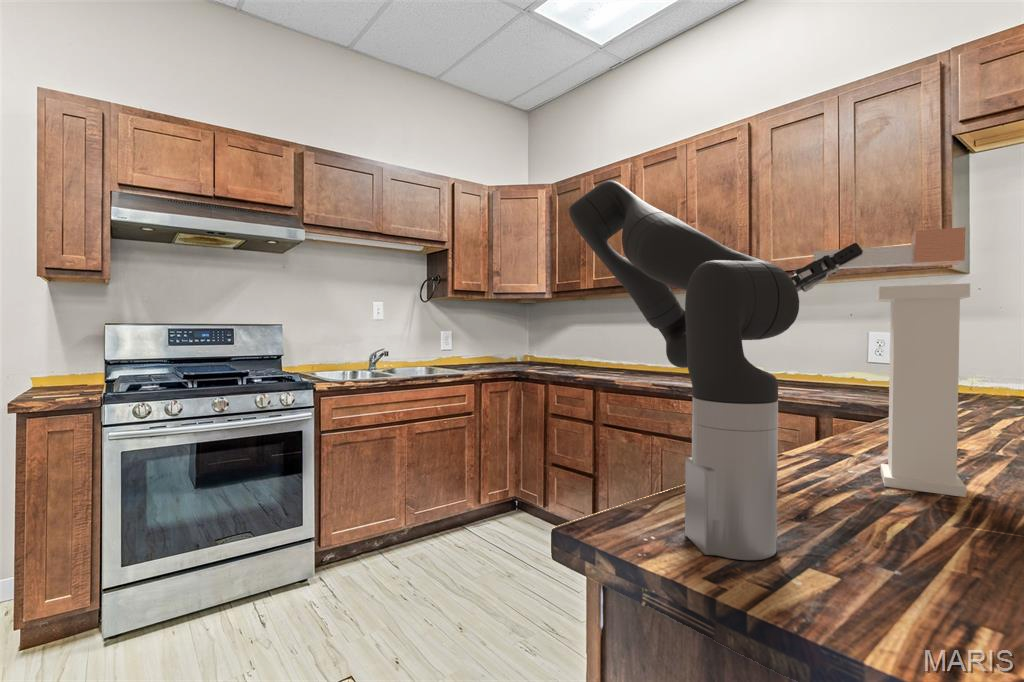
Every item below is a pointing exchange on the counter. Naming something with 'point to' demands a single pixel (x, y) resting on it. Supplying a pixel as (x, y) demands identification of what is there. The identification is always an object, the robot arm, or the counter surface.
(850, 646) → the counter surface
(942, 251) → the peg
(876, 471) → the counter surface
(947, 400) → the stand
